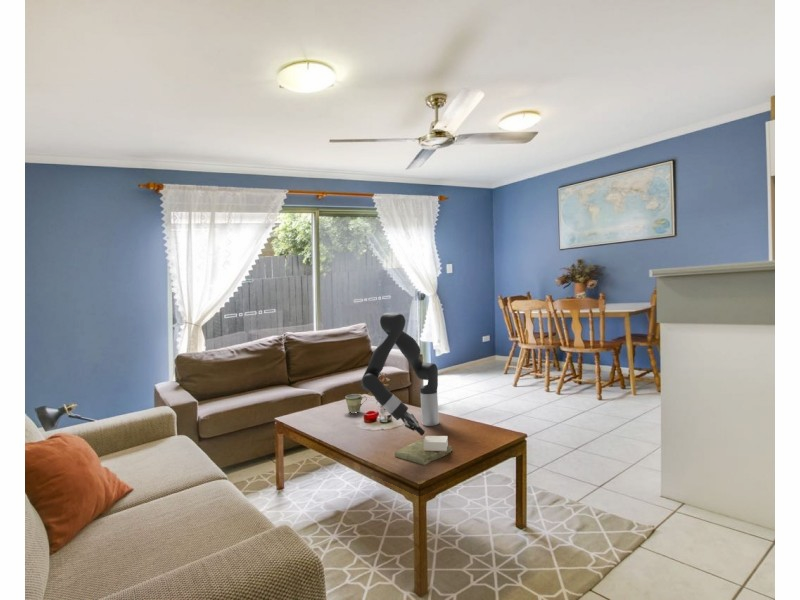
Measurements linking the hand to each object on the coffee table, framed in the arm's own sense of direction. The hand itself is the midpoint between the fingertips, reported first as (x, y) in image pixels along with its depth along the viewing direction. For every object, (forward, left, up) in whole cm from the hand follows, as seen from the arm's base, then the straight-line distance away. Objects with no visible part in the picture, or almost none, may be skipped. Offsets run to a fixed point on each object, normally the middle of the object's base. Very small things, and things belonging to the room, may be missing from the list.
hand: (423, 433), depth 199 cm
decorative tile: (+1, 0, -10) cm, 10 cm away
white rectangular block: (0, 0, -4) cm, 4 cm away
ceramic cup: (-65, -48, -9) cm, 81 cm away
